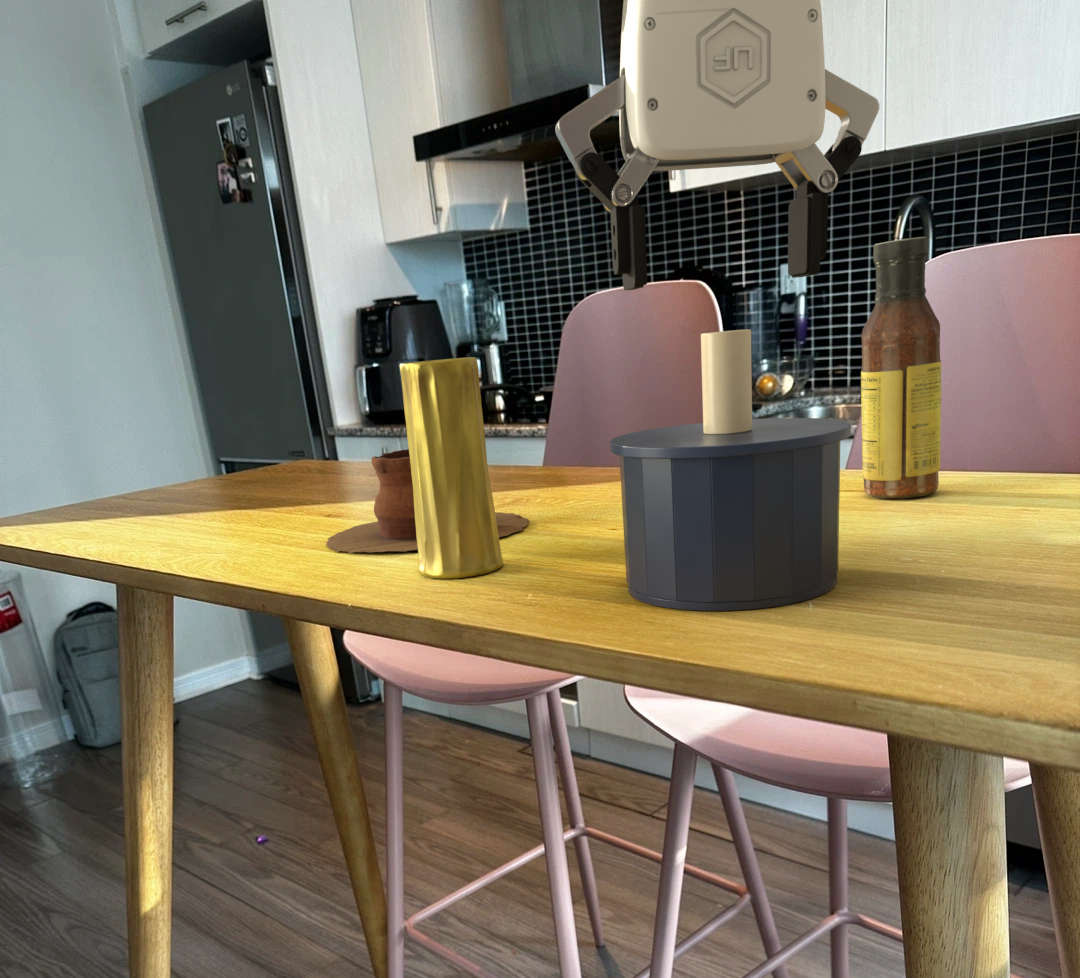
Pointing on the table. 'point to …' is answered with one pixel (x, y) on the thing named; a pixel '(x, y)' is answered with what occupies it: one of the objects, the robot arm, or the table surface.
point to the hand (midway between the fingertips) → (719, 282)
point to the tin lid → (729, 414)
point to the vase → (449, 469)
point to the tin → (732, 529)
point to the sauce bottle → (901, 377)
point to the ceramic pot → (398, 512)
